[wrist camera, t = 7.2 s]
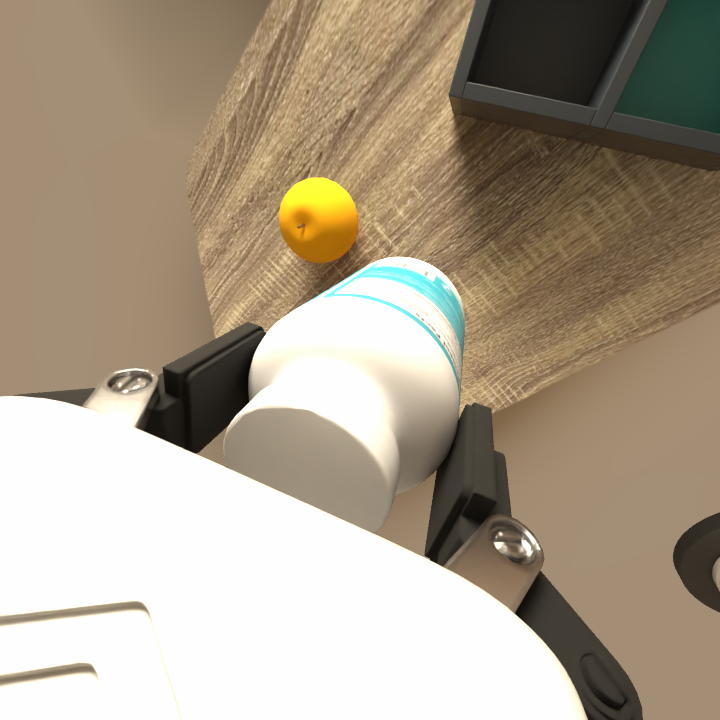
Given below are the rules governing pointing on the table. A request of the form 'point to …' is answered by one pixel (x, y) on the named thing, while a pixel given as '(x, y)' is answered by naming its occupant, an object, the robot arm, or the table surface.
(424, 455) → the pill bottle
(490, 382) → the table surface
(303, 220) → the apple
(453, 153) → the table surface
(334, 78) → the table surface
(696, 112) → the divided storage tray
